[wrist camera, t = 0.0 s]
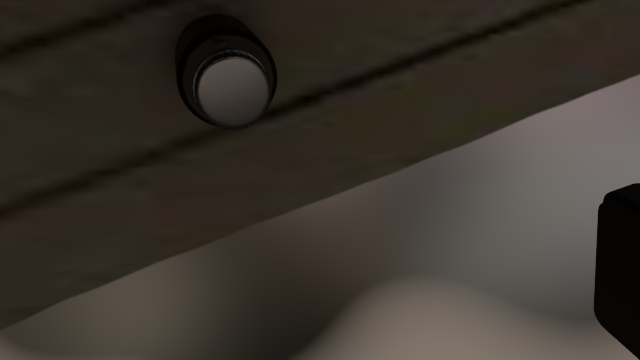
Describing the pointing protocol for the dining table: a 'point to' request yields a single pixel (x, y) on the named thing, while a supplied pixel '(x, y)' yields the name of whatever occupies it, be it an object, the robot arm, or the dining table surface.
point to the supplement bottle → (224, 72)
